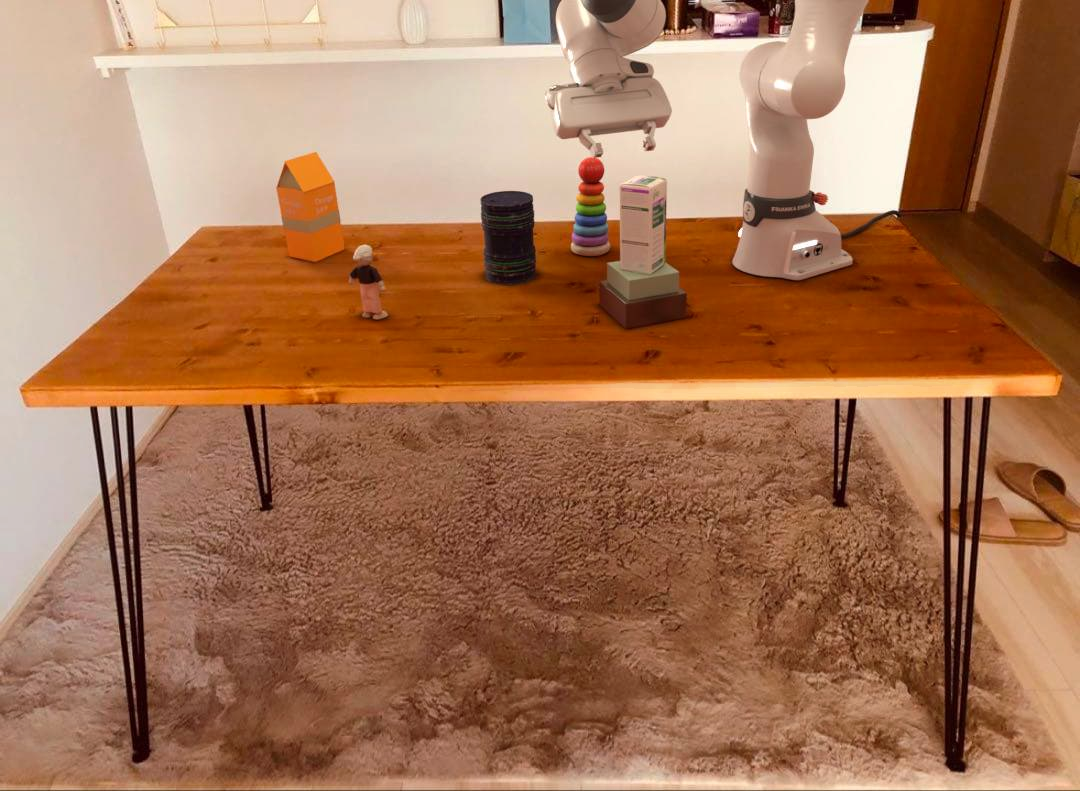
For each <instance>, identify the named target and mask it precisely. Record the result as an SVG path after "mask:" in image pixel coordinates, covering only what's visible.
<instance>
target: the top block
mask: <svg viewBox="0 0 1080 791" xmlns="http://www.w3.org/2000/svg"><path fill="white" fill-rule="evenodd" d="M606 280H607V282H608V283H609V284H610V285H611V286H612V287H614V288H615V289H616V290H617V291H618V292H620V293H621V294H622V295H623V296H624V297H626V298H627V299H628V300H635V299H640V298H646V297H651V296H657V295H663V294H668V293H674V292H678V291H679V288H680V271H679V270H677V269H676V268H674V267H673V266H672V265H671V264H668V263H667V262H665V264H664V265H662V266H661V267H660V268H658V269H657V270H656V271H654V272H652V274H651V275H649V274H642V273H636V272H630V271H626V270H622V269H621V268H620V260H615V261H610V262H606Z"/></svg>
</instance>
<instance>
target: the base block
mask: <svg viewBox="0 0 1080 791" xmlns="http://www.w3.org/2000/svg"><path fill="white" fill-rule="evenodd" d="M598 284H599V285H598V287H599V291H598V294H599V299H598V300H599V301H598V302H599V304H598V305H599V306H600V308H601V309H602V310H604V311H605V312H606V313H607V314H608V315H609V316H611V318H613V319H614V320H615V321H616V322H618V323H619V325H620V326H622V327H623V328H624V329H625V330H628V329H634V328H639V327H644V326H649V325H656V324H660V323H666V322H670V321H677V320H682V319H686V317H687V316H686V315H687V302H688V301H687V300H688V299H687V298H688V293H687V292H686V291H685V290H684V289H682V288H680V287H679V291H678V292H674V293H668V294H663V295H657V296H651V297H646V298H640V299H635V300H628V299H627V298H626V297H624V296H623V295H622V294H621V293H620V292H618V291H617V290H616V289H615V288H614V287H612V286H611V285H610V284H609V283H608V282H607V279H603V280H599V283H598Z"/></svg>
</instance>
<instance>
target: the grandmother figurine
mask: <svg viewBox="0 0 1080 791" xmlns="http://www.w3.org/2000/svg"><path fill="white" fill-rule="evenodd" d="M373 254H374V253H373V248H372V247H371V246H370V245H367V244H361V245H359V246H358V247H357V248H356V249H355V250H354V253H353V257H352V259H353V261H355V262H358V264H359V265H357V266H354V268H352V270H351V271H350V272H349V280H348V283H349V284H350V285H355V284H356V280H357V279H358V283H359V286H360V287H359V288H360V297H361V302H362V303H361V304H362V307H363V313H362V318H365V319H368V318H371V317H372V319H373V320H382V319H385V318H387V317H388V316H389V313H388V312H387V311H386V310H383V309H382V304H381V300H380V293H379V292H381V293H384V292H386V290H387V288H386V287H385V283H384V279H383V277H382V276H381V274H380V272H379V271H378V268H376V267H374V266H372V263H373V260H374V257H373Z"/></svg>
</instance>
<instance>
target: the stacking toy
mask: <svg viewBox="0 0 1080 791" xmlns="http://www.w3.org/2000/svg"><path fill="white" fill-rule="evenodd" d="M577 172H578V176H579V178H580V180H581V181H582V182H580V183H579V184H578V187H577V188H578V189H577V190H578V192H579V193H577V195H576V201H577V204H576V205H575V210H576V213H575V215H574V222H575V223H574V224H573V232H572V234H571V241H572V242H571V244H570V249H571V251H572V252H573V253H574V254H576V255H579V256H582V257H583V256H584V257H597V256H598V257H599V256H602V255H605V254H606V253H608V252H609V251H610V250H611V243H610V241H609V238H610V235H609V233H608V231H609V224H608V223H607V221H608V215H607V213H606V210H607V205H606V203H605V202H604V201H605V195H604V193H603V192H604V190H605V185H604V182H601V180H602V179H603V178H604V174H605V165H604V164H603V162H602V160H600V159H599V158H598V157H597V158H592V156H589V157H585V158H584V159H583V160H582V161H581V162H580V163H579V166H578V171H577Z"/></svg>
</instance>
